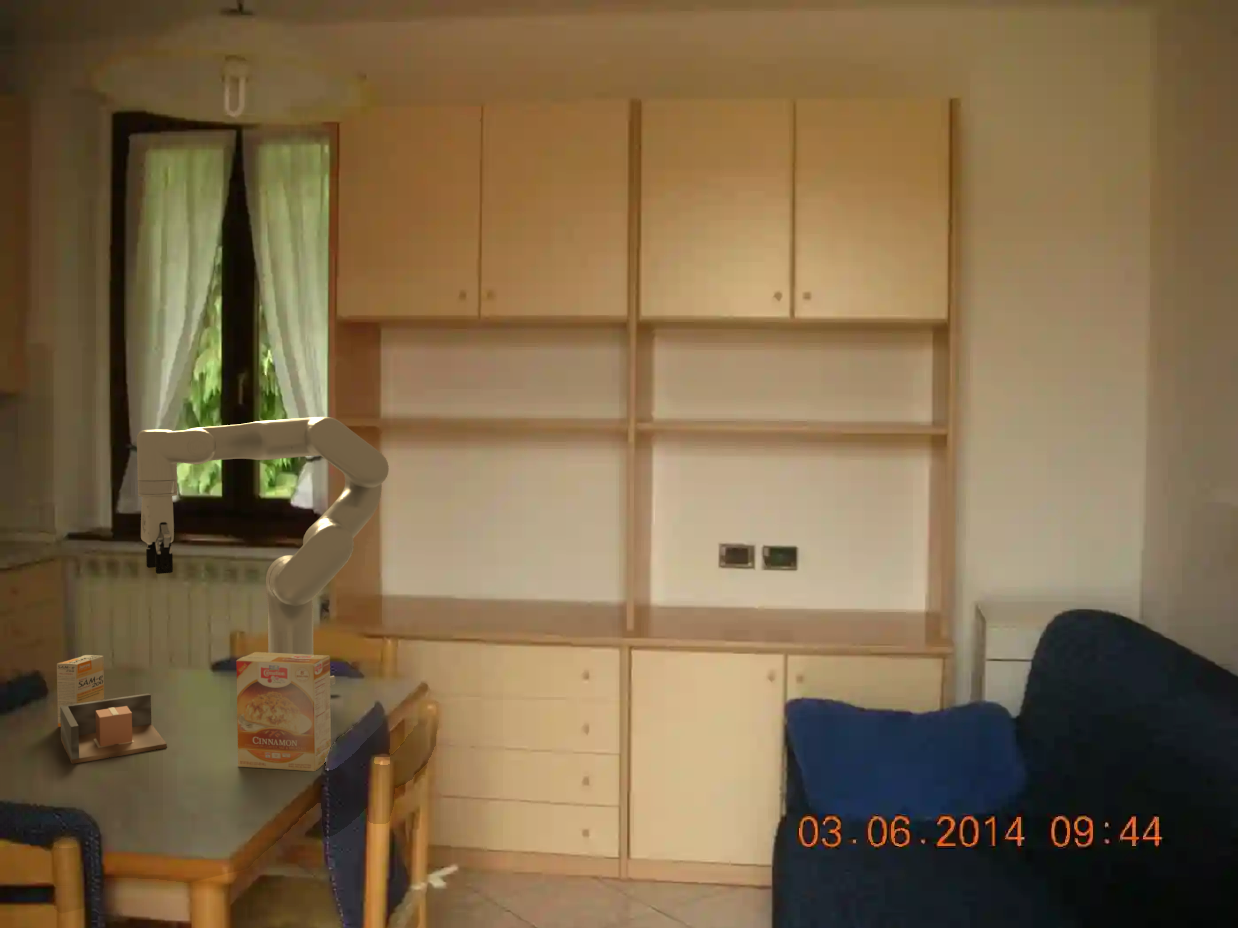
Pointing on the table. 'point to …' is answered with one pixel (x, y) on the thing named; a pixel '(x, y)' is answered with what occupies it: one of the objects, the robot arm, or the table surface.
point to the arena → (82, 729)
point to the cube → (113, 726)
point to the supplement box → (80, 681)
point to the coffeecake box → (283, 711)
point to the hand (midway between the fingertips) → (159, 570)
